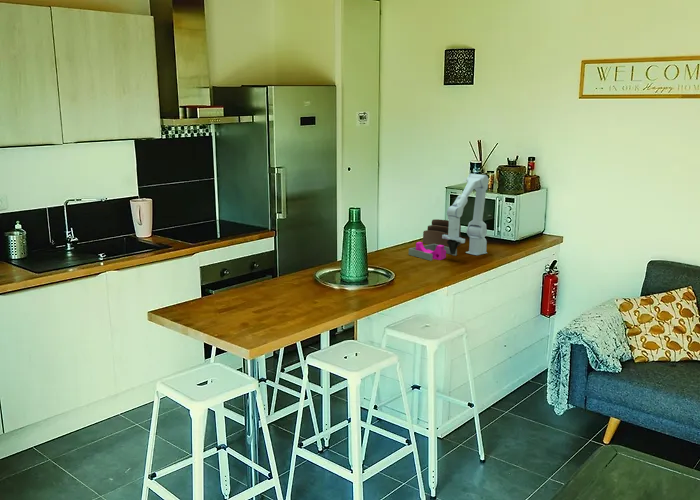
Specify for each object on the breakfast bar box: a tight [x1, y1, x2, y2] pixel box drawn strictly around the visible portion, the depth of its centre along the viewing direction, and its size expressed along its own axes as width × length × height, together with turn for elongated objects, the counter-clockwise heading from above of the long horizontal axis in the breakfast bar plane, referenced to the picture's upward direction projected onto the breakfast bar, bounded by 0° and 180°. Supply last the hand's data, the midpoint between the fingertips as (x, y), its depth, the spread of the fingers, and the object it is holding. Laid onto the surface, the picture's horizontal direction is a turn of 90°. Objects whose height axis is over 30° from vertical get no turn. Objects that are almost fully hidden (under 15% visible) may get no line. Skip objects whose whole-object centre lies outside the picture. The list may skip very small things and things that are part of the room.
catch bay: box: [408, 244, 458, 262], centre depth 371 cm, size 20×17×4 cm
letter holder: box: [422, 219, 462, 247], centre depth 396 cm, size 10×20×14 cm, turn 51°
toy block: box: [415, 241, 447, 261], centre depth 367 cm, size 15×6×8 cm, turn 56°
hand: (452, 254), depth 360 cm, fingers closed
